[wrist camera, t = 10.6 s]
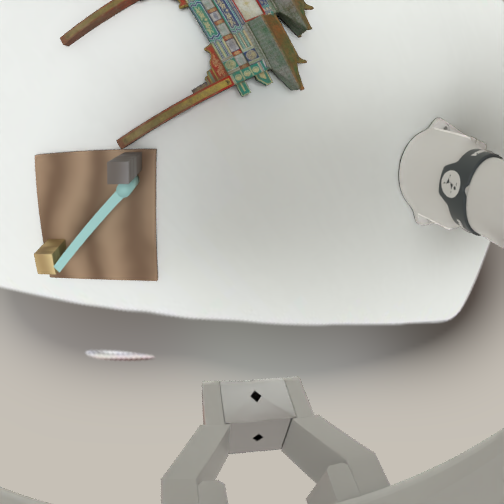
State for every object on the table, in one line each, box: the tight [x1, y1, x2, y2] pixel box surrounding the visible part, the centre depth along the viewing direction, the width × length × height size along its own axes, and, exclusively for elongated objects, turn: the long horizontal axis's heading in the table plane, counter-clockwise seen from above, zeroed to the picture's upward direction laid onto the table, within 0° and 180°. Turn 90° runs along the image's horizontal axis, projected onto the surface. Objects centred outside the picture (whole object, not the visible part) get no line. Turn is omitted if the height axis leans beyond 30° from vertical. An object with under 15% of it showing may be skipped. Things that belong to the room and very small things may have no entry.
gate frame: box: [34, 149, 158, 281], centre depth 36 cm, size 18×19×9 cm
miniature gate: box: [60, 0, 314, 149], centre depth 30 cm, size 27×6×30 cm
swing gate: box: [54, 176, 139, 272], centre depth 37 cm, size 2×16×5 cm, turn 130°
